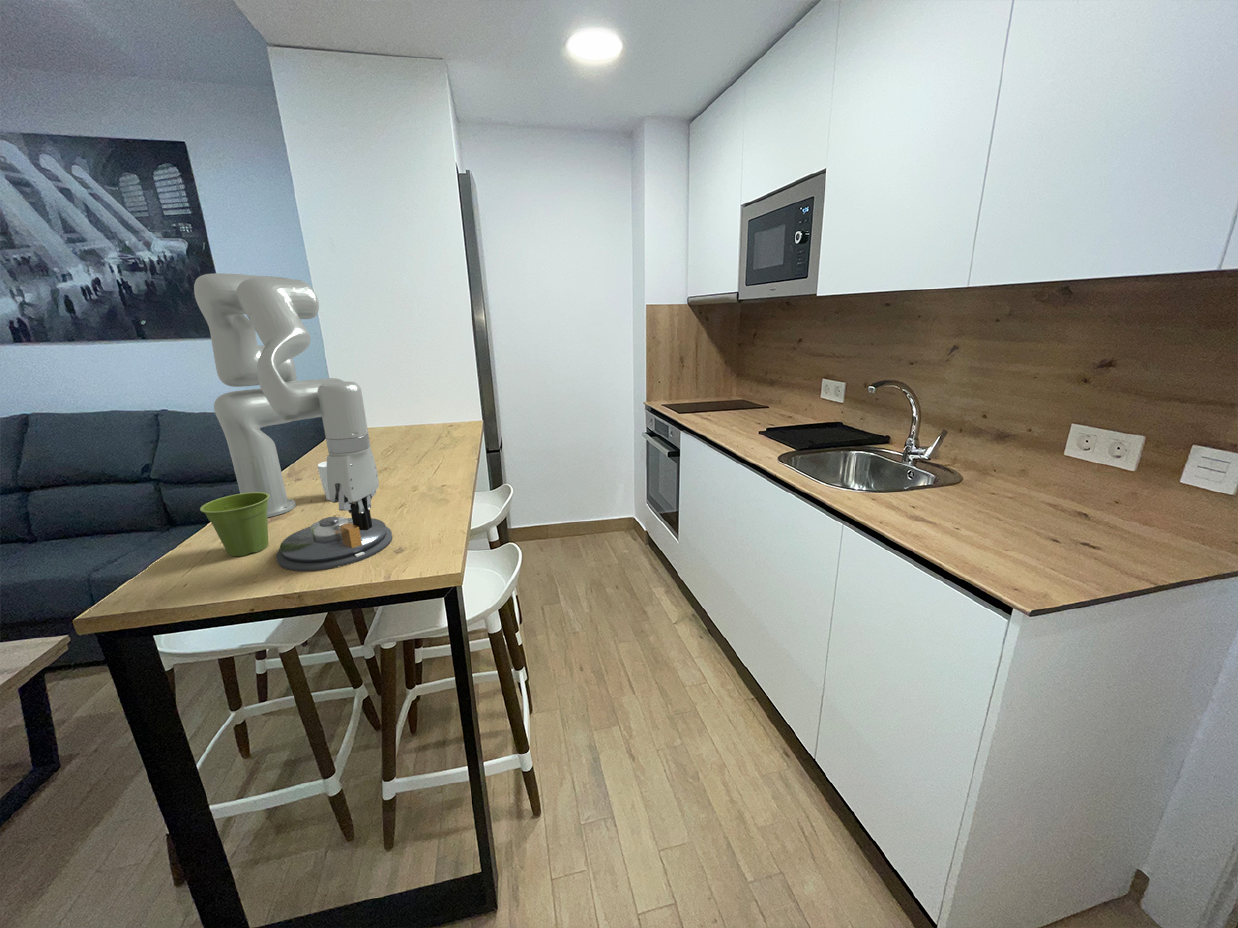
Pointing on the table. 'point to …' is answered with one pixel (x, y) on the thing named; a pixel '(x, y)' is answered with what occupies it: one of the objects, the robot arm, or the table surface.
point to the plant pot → (240, 521)
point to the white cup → (324, 477)
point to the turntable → (332, 543)
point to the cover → (328, 529)
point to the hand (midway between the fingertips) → (363, 528)
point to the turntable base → (338, 562)
